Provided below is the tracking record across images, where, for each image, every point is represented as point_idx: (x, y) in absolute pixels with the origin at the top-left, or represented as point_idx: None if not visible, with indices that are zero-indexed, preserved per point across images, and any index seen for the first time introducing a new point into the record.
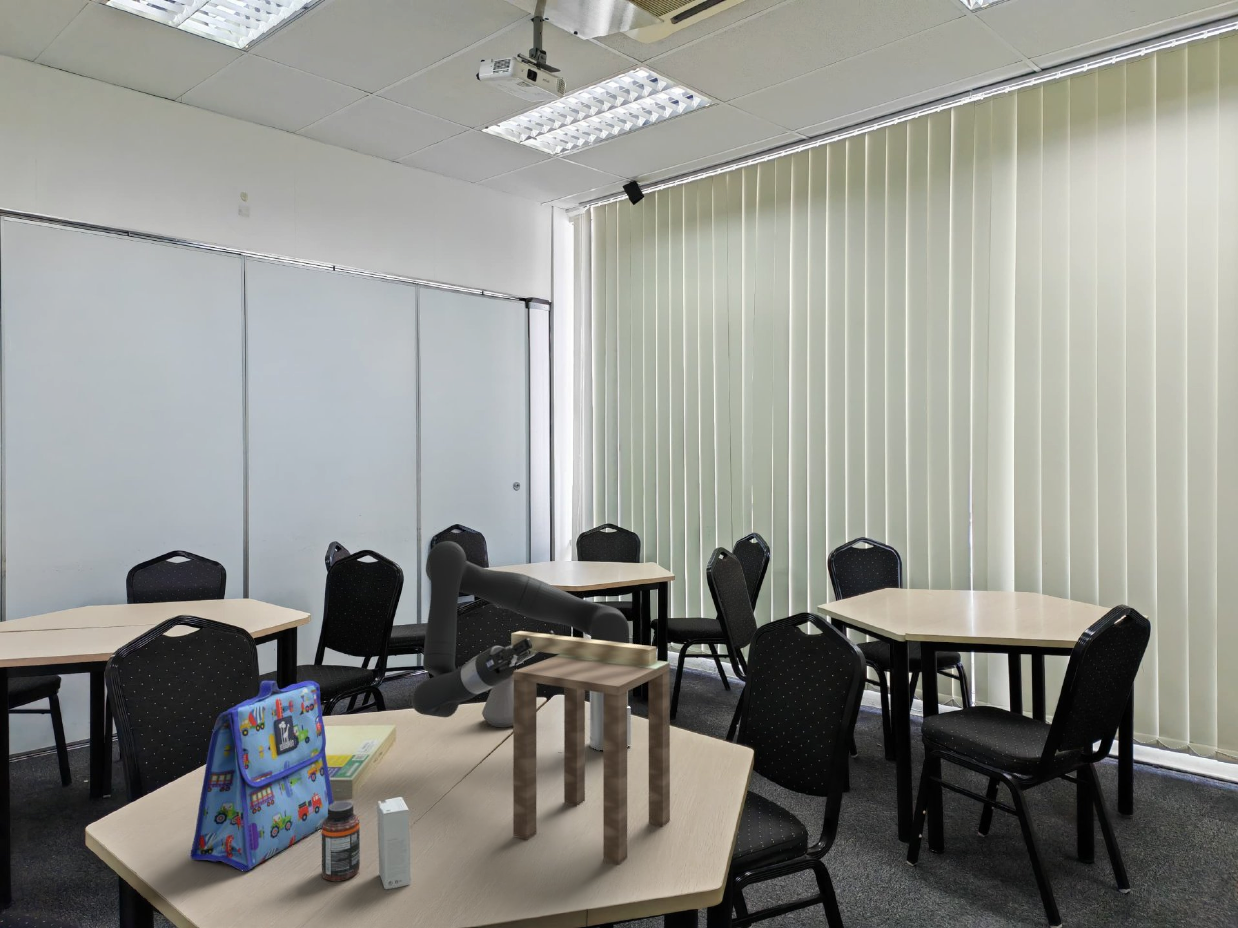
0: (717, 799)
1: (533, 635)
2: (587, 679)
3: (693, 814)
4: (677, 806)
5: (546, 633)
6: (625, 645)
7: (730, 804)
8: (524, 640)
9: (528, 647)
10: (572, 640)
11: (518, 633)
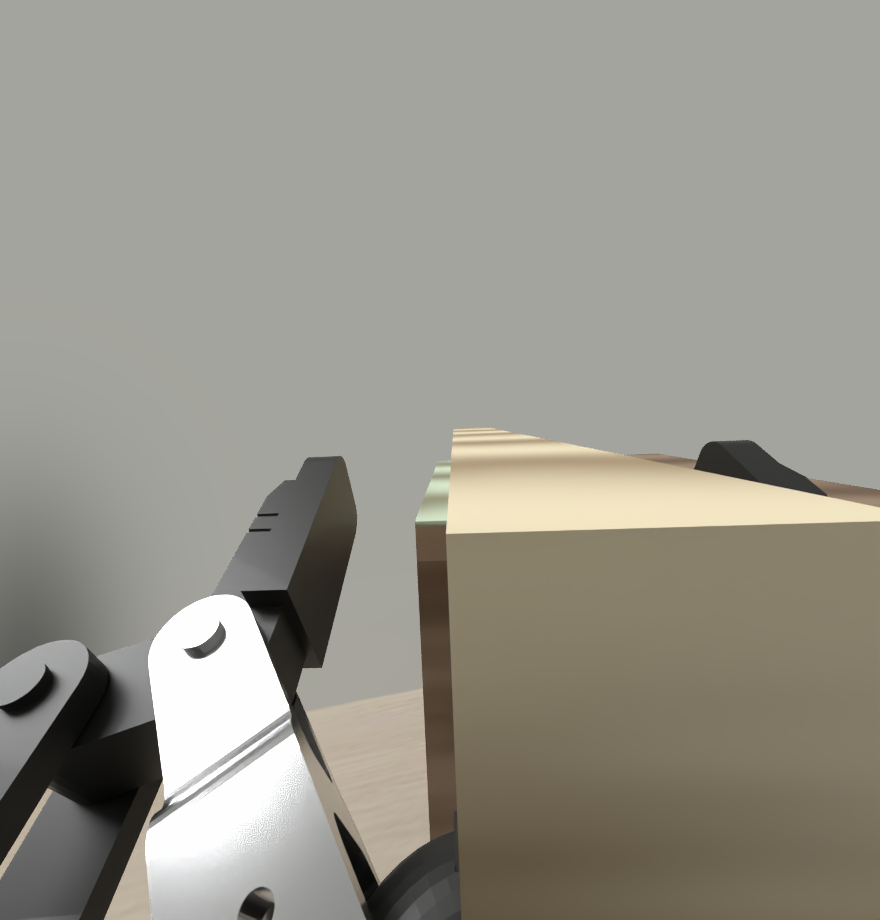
0: (330, 728)
1: (582, 453)
2: (686, 462)
3: (408, 736)
4: (383, 772)
5: (328, 487)
6: (479, 429)
7: (347, 707)
8: (759, 462)
9: None
10: (519, 434)
11: (694, 489)
